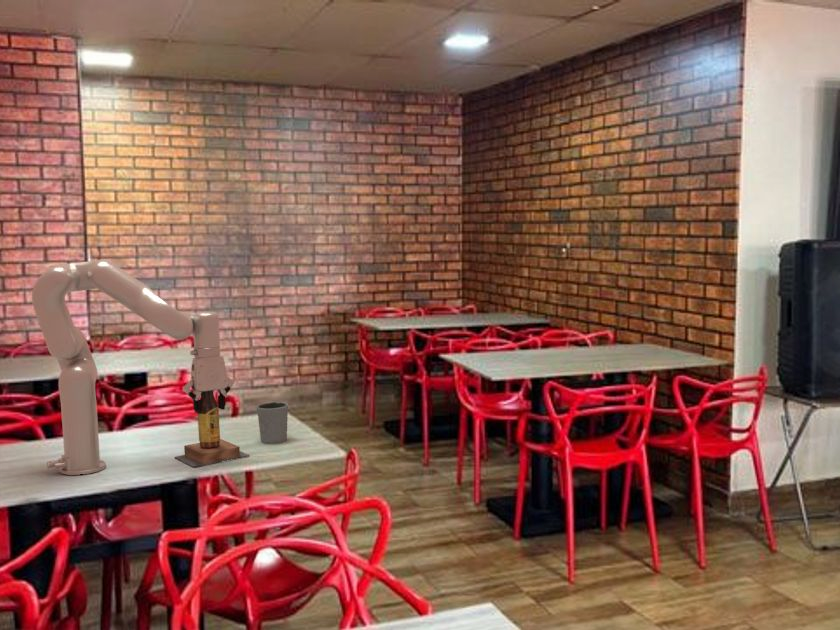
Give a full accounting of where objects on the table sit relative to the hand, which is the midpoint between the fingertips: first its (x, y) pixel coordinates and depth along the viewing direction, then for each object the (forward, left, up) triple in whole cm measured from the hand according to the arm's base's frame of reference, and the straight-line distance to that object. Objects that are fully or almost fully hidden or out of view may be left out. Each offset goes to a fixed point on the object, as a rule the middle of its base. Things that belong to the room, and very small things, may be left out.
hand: (209, 410), depth 249 cm
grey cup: (+24, +5, -15) cm, 29 cm away
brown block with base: (0, 0, -15) cm, 15 cm away
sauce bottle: (0, 0, -11) cm, 11 cm away
